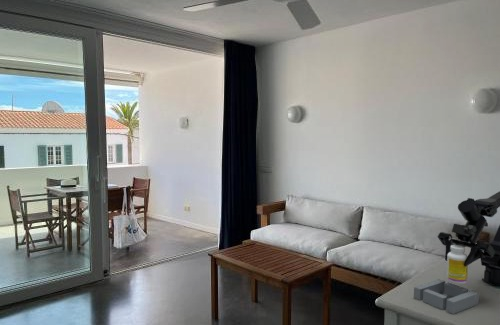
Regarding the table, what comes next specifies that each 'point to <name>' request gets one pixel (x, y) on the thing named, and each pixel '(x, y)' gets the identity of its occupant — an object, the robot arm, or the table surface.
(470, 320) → the table surface
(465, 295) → the cup holder
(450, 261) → the supplement bottle
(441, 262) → the table surface
